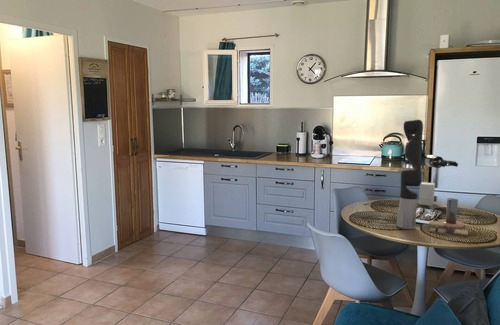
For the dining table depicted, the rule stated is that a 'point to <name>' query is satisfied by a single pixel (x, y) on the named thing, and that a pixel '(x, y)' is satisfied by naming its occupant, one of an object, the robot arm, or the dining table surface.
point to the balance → (449, 231)
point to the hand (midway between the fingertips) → (451, 165)
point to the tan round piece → (457, 225)
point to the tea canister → (451, 210)
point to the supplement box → (426, 193)
